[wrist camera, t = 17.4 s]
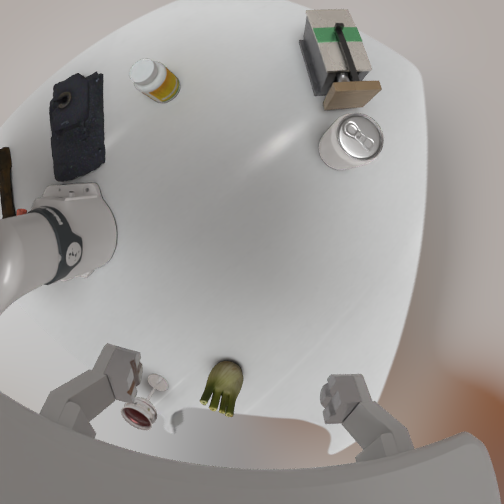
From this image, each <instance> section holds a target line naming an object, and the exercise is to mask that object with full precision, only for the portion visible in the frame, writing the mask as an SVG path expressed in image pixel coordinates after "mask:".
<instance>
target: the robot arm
mask: <svg viewBox="0 0 504 504" xmlns="http://www.w3.org/2000/svg"><path fill="white" fill-rule="evenodd" d="M88 189H89V191H88ZM26 213H27V210H26V209H18V210H17V216H13V217H9V218H4V219H0V315H1V314H2V312H4V311H5V309H7V308H8V307H9V306H10V305H11V304H12V303H13V302H14V301H16V300H17V299H19V298H20V297H22V296H24V295H25V294H27V293H29V292H31V291H32V290H34V289H36V288H38V287H40V286H42V285H49V284H52V283H55V282H58V281H60V280H61V281H67V280H69V279H72V278H75V277H78V276H81V277H82V278H86V277H89V276H90V275H91V274H92V272H93V271H94V270H95V269H97V268H99V267H102V266H104V265H105V264H106V263H107V262H108V261H109V260H110V259H111V257H112V255H113V253H114V250H115V247H116V240H117V232H116V225H115V221H114V217H113V215H112V213H111V211H110V209H109V207H108V206H107V204H106V203H105V202H104V200H103V199H102V196H101V193H100V189H99V187H98V185H97V184H96V183H79V184H62V185H51V186H47V187H46V189H45V191H44V193H43V196H42V197H40V198H37V199H36V200H35V201H34V203H33V205H32V208H31V211H30V212H28V213H27V214H26ZM140 359H141V355H140V352H137V351H133V350H129V349H126V348H122V347H119V346H115V345H111V344H108V343H107V344H106V345H105V346H104V348H103V350H102V352H101V354H100V356H99V357H98V359H97V361H96V363H95V365H94V368H93V370H88V371H86V372H84V373H82V374H81V375H79V376H77V377H76V378H74V379H72V380H70V381H69V382H67V383H65V384H63V385H62V386H60V387H58V388H56V389H55V390H53V391H51V392H50V394H49V396H48V397H47V400H46V402H45V403H44V406H43V407H42V410H41V412H40V414H38V413H36V412H34V411H32V410H30V409H29V408H27V407H25V406H23V405H22V404H20V403H18V402H16V401H15V400H13V399H11V398H10V397H8V396H7V395H5V394H3V393H2V392H0V504H501V500H500V494H499V489H498V485H497V480H496V476H495V472H494V469H493V466H492V462H491V459H490V456H489V454H488V451H487V449H486V447H485V445H484V444H483V443H482V442H481V441H480V440H479V439H477V438H476V437H474V436H473V435H472V434H470V433H468V432H461V433H459V434H456V435H454V436H451V437H449V438H446V439H443V440H441V441H438V442H435V443H432V444H429V445H426V446H423V447H420V448H416V449H414V446H413V444H412V441H411V438H410V435H409V432H408V430H407V428H406V427H405V426H404V425H402V424H401V423H400V422H399V421H397V420H396V419H395V418H394V417H393V416H392V415H391V414H389V413H388V412H387V411H386V410H385V409H383V408H382V407H381V406H380V405H379V404H378V403H376V402H375V401H372V399H371V396H370V393H369V391H368V388H367V385H366V383H365V380H364V377H363V375H362V374H333V375H330V376H329V377H328V379H327V381H328V383H327V384H325V385H324V386H323V387H322V389H321V393H320V402H321V405H322V406H323V407H324V408H325V409H324V411H323V416H324V421H325V424H336V423H342V425H343V426H344V427H345V429H346V430H347V431H348V432H349V433H350V434H351V436H352V437H353V438H354V439H355V440H356V441H357V443H358V444H359V445H360V446H361V447H362V448H363V451H362V452H361V453H359V454H358V455H357V456H356V457H355V458H356V463H350V464H343V465H336V466H327V467H316V468H303V469H240V468H227V467H216V466H207V465H200V464H192V463H186V462H181V461H175V460H170V459H165V458H160V457H156V456H151V455H147V454H143V453H139V452H136V451H132V450H128V449H125V448H121V447H118V446H115V445H112V444H109V443H105V442H103V441H100V440H97V439H95V436H96V433H95V431H94V429H93V428H92V426H91V425H90V423H89V422H90V421H91V420H92V419H93V418H95V417H96V416H97V415H98V414H99V413H101V412H102V411H103V410H104V409H106V407H108V406H109V405H110V404H112V403H113V402H114V401H115V399H116V400H119V401H124V402H127V403H131V404H134V401H135V398H136V395H137V389H136V386H138V385H139V384H140V382H141V379H142V373H143V367H142V364H141V363H140Z"/></svg>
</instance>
